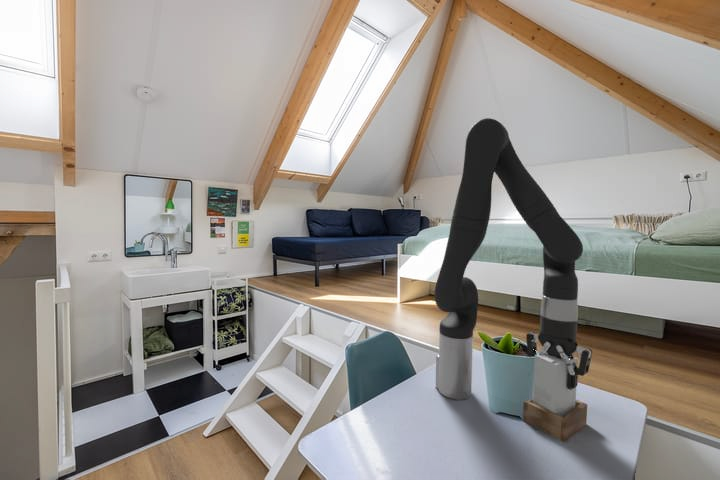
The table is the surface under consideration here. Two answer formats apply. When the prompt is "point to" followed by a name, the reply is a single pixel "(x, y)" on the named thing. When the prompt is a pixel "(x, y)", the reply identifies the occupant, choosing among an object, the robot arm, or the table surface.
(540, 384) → the skincare box
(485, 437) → the table surface
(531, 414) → the box
